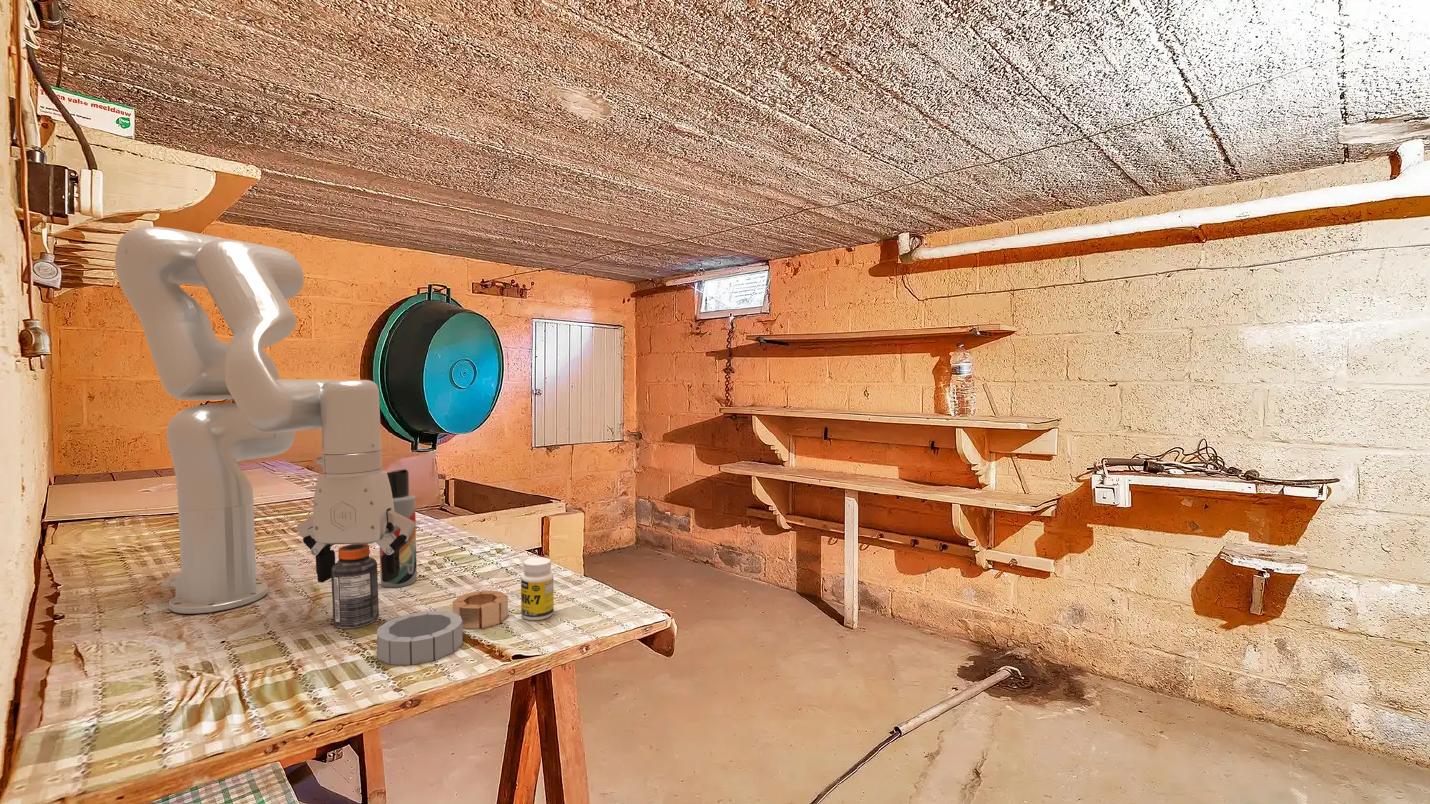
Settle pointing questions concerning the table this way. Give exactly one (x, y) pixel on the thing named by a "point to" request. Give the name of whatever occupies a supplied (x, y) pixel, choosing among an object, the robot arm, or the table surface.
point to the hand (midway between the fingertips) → (358, 579)
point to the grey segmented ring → (419, 637)
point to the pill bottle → (354, 587)
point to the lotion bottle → (406, 508)
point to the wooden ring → (481, 609)
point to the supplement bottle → (537, 589)
